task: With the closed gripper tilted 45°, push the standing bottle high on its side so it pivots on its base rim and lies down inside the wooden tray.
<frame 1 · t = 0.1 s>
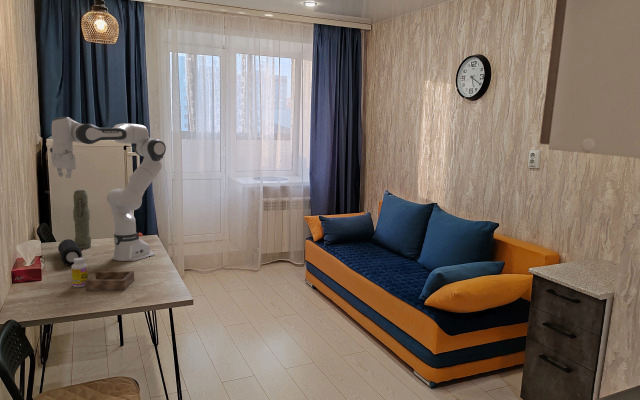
hand: (64, 177, 240), 48 cm above the table, tool pointing down, fingers open, 8 cm apart
supplement bottle: (80, 285, 224), on the table
wooden tray: (109, 285, 225), on the table
thermos: (83, 247, 290), on the table
portable speaker: (70, 261, 263), on the table
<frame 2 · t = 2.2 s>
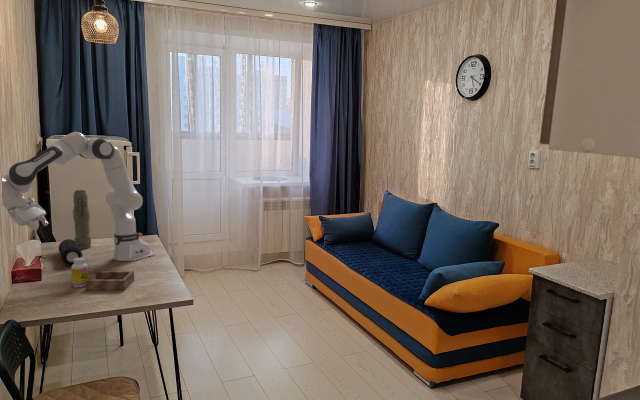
hand: (42, 227, 218), 28 cm above the table, tool tilted 45°, fingers open, 8 cm apart
nothing on the table moved.
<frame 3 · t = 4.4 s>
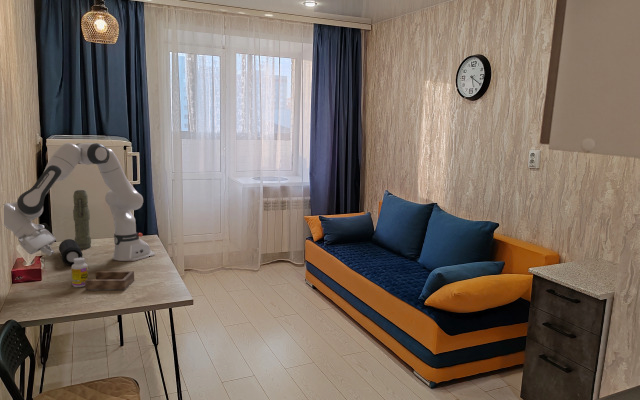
hand: (52, 254, 220), 15 cm above the table, tool tilted 45°, fingers closed
nothing on the table moved.
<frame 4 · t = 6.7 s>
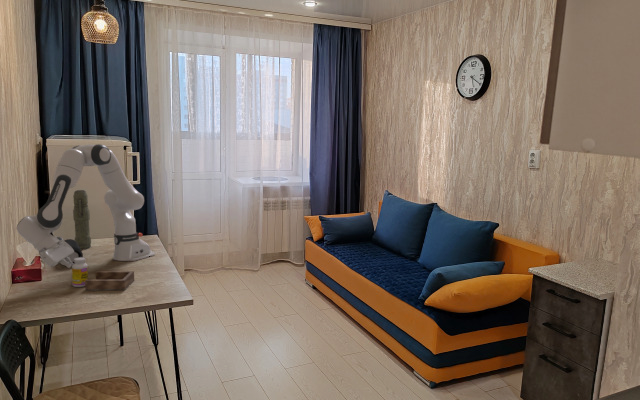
hand: (71, 266, 222), 9 cm above the table, tool tilted 45°, fingers closed, pressing on supplement bottle
supplement bottle: (80, 285, 224), on the table, touching gripper
everything else where it was.
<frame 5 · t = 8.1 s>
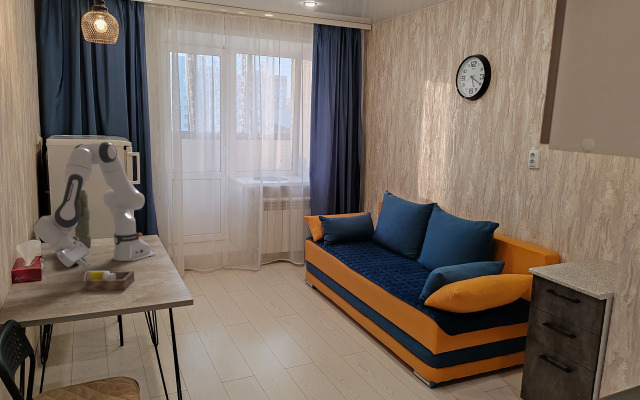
hand: (87, 266, 223), 9 cm above the table, tool tilted 45°, fingers closed
supplement bottle: (85, 277, 223), point 4 cm above the table, touching wooden tray
everything else where it was.
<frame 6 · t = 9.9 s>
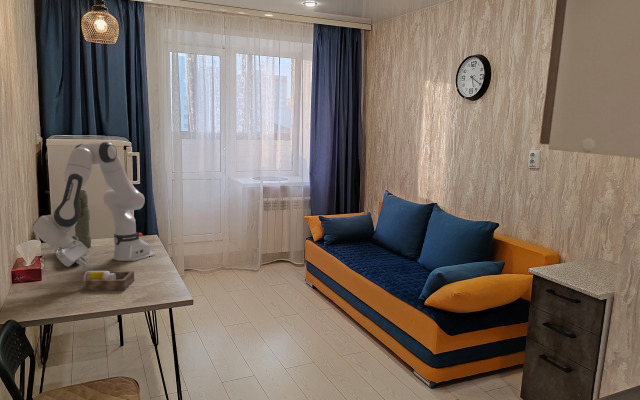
hand: (87, 265, 223), 10 cm above the table, tool tilted 45°, fingers closed
nothing on the table moved.
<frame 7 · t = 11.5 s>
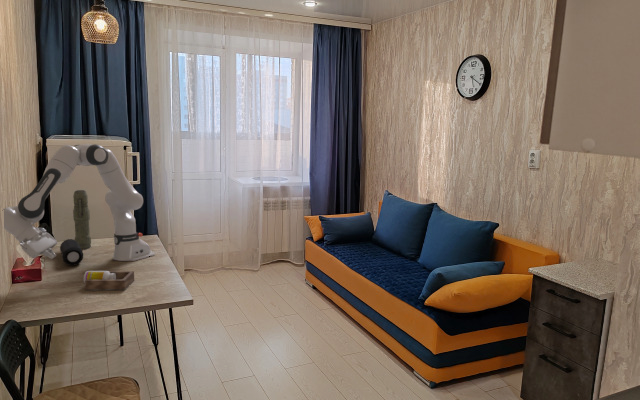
hand: (54, 257, 221), 14 cm above the table, tool tilted 45°, fingers closed
nothing on the table moved.
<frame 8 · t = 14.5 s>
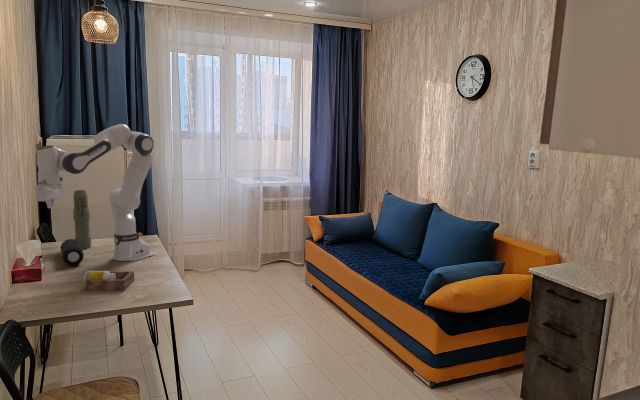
hand: (50, 207, 232), 34 cm above the table, tool pointing down, fingers closed
nothing on the table moved.
at the end: supplement bottle tilted 90°; supplement bottle touching wooden tray; supplement bottle inside the target area on the wooden tray (2.5 cm from its centre), point 3.9 cm above the wooden tray's base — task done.
